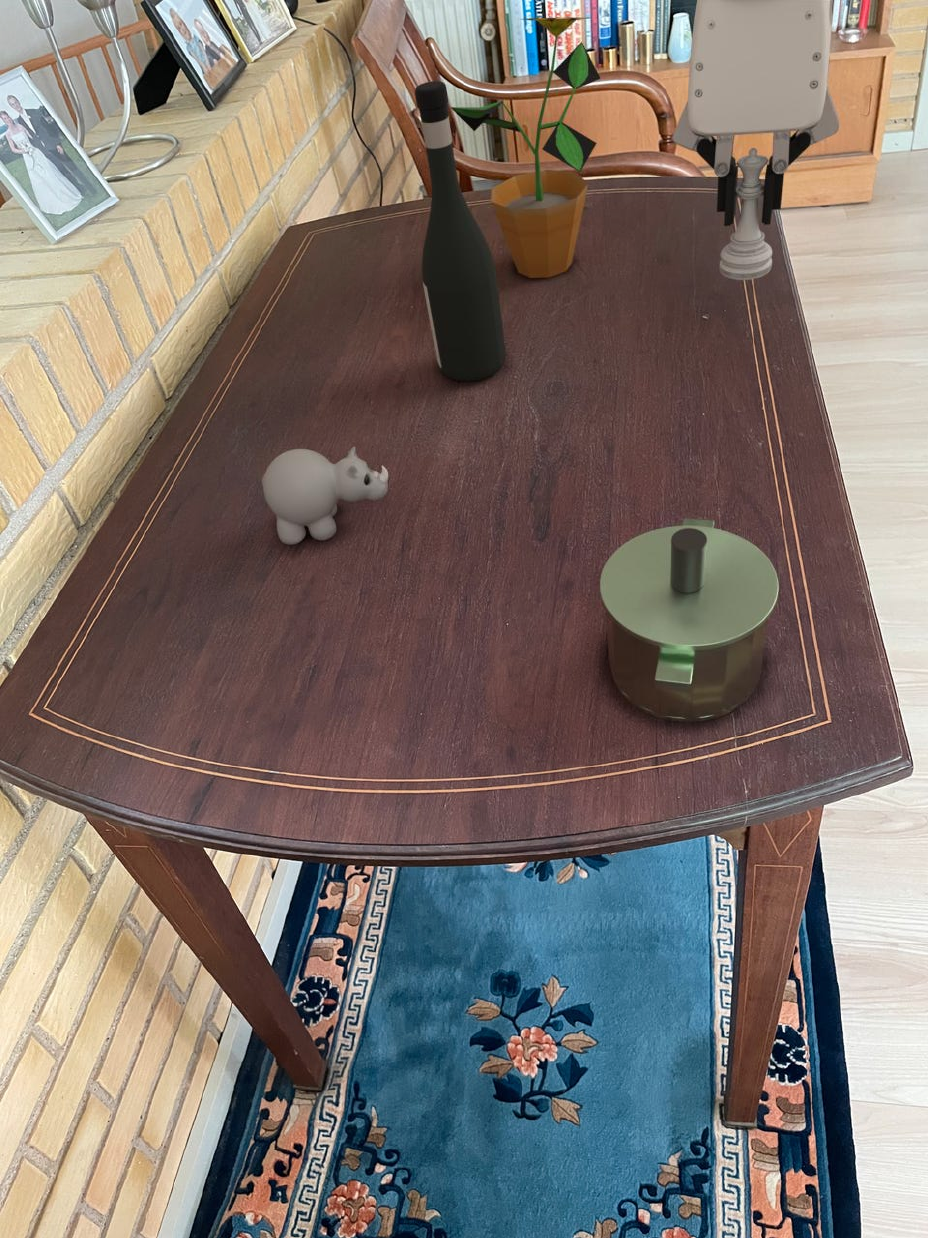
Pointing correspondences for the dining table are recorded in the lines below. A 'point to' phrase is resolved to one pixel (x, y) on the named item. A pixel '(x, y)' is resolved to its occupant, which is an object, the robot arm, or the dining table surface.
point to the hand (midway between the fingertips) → (748, 216)
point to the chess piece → (748, 227)
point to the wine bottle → (456, 259)
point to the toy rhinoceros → (316, 491)
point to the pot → (685, 672)
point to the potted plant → (544, 175)
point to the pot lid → (689, 587)
